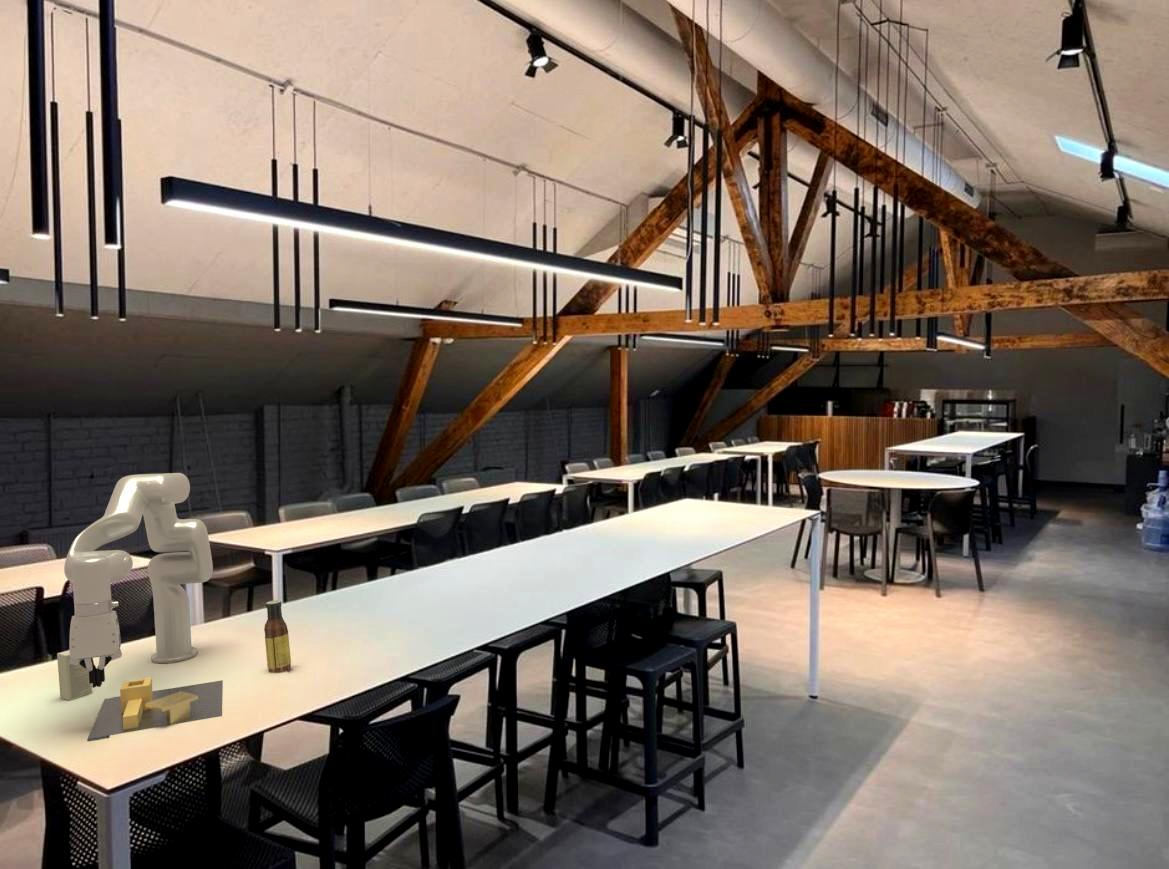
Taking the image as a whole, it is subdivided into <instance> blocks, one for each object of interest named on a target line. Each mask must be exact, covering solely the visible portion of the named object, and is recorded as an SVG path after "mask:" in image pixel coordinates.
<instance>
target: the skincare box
mask: <svg viewBox="0 0 1169 869" xmlns="http://www.w3.org/2000/svg"><path fill="white" fill-rule="evenodd" d="M56 658H57V671H58V681H59V682H58V684H59V685H58V686H59V696H60V697H59V698H60V699H63V700H67V701H71V700H75V699H79V698H81V697H84V696H86V695H89V694H93V687H92V683H91V684H90V683H89V671H87V669H86V668H84V667H83V666H81V665H72V664H69V661H70V651H69V649H67V650H64V651H61V652H57V654H56Z"/></svg>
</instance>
